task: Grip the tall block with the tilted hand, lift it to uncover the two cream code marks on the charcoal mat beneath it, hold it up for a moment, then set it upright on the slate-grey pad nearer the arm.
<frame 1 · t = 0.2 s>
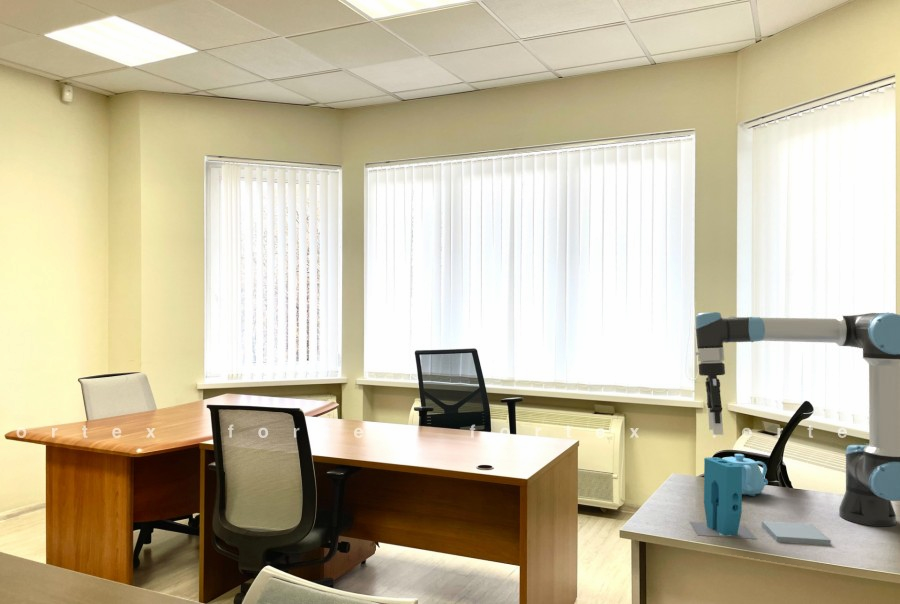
hand: (716, 432, 203), 28 cm above the table, tool pointing down, fingers open, 13 cm apart
code mat: (722, 530, 195), on the table
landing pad: (794, 535, 192), on the table
decorative pot: (739, 493, 237), on the table
block: (722, 530, 195), on the table, touching code mat
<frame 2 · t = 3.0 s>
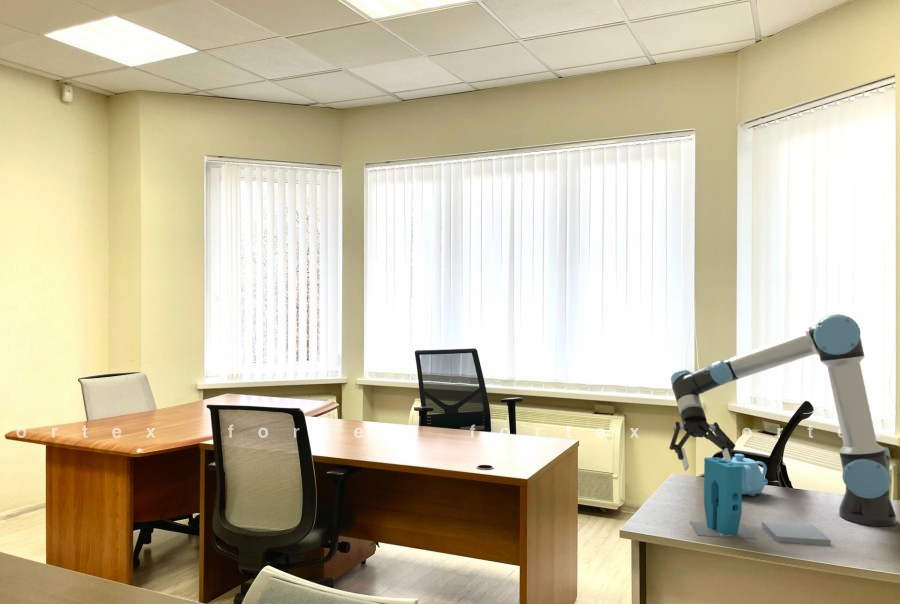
hand: (708, 468, 204), 16 cm above the table, tool tilted 45°, fingers open, 13 cm apart
nothing on the table moved.
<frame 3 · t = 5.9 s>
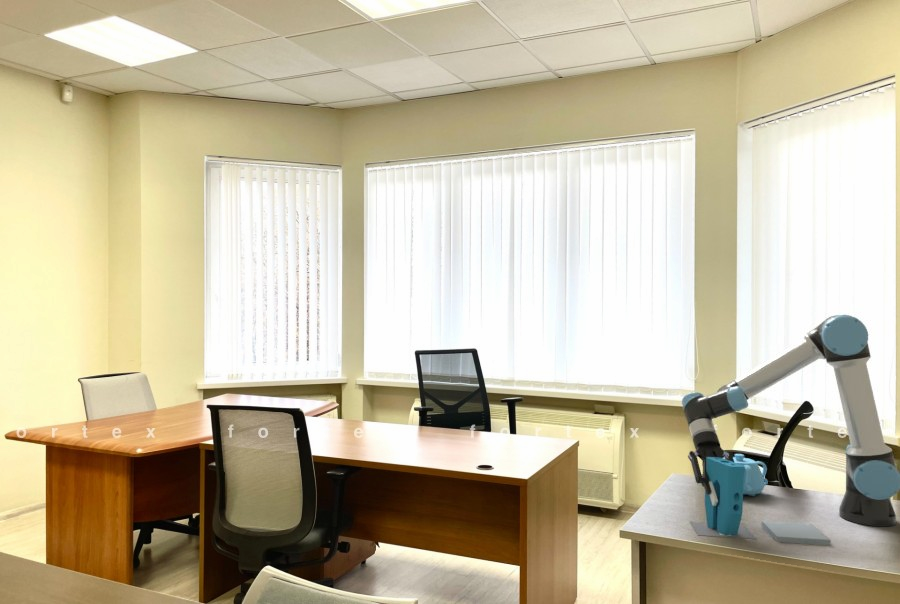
hand: (725, 503, 193), 8 cm above the table, tool tilted 45°, fingers closed on block, 5 cm apart
block: (722, 530, 195), on the table, touching code mat, gripper
everything else where it was.
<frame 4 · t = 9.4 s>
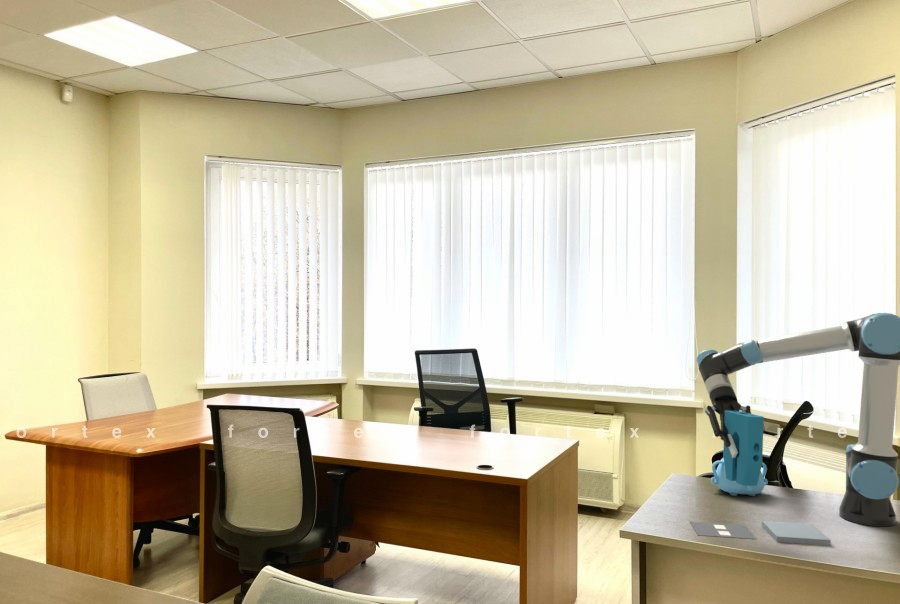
hand: (745, 455, 193), 23 cm above the table, tool tilted 45°, fingers closed on block, 5 cm apart
block: (741, 482, 195), point 14 cm above the table, touching gripper
everything else where it was.
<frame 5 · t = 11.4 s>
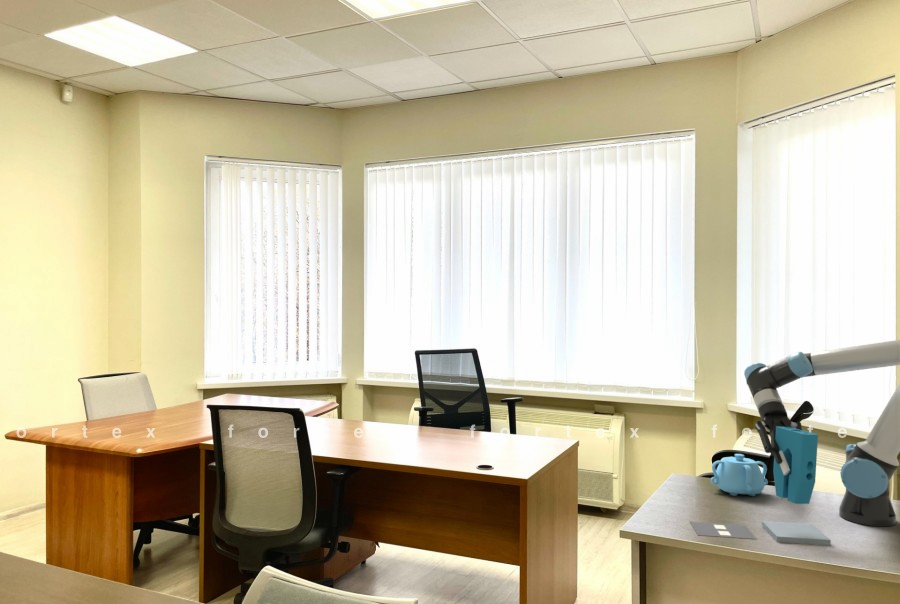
hand: (797, 472, 191), 18 cm above the table, tool tilted 45°, fingers closed on block, 5 cm apart
block: (792, 500, 192), point 10 cm above the table, touching gripper
everything else where it was.
when the fingers open (11 cm above the table, at t = 13.2 s): block drops 2 cm, resting on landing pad.
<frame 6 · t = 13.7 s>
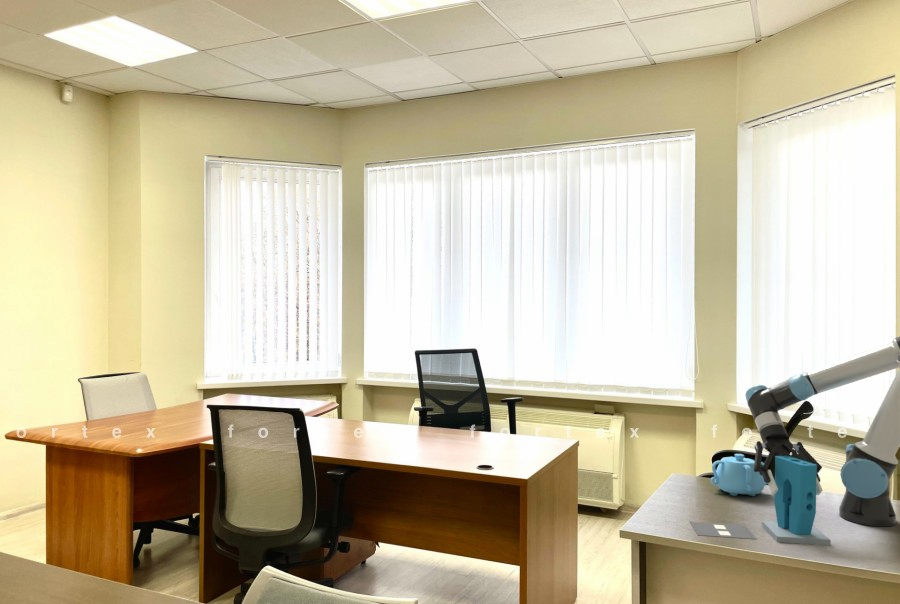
hand: (797, 492, 191), 12 cm above the table, tool tilted 45°, fingers open, 12 cm apart
block: (794, 530, 192), point 1 cm above the table, touching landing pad
everything else where it was.
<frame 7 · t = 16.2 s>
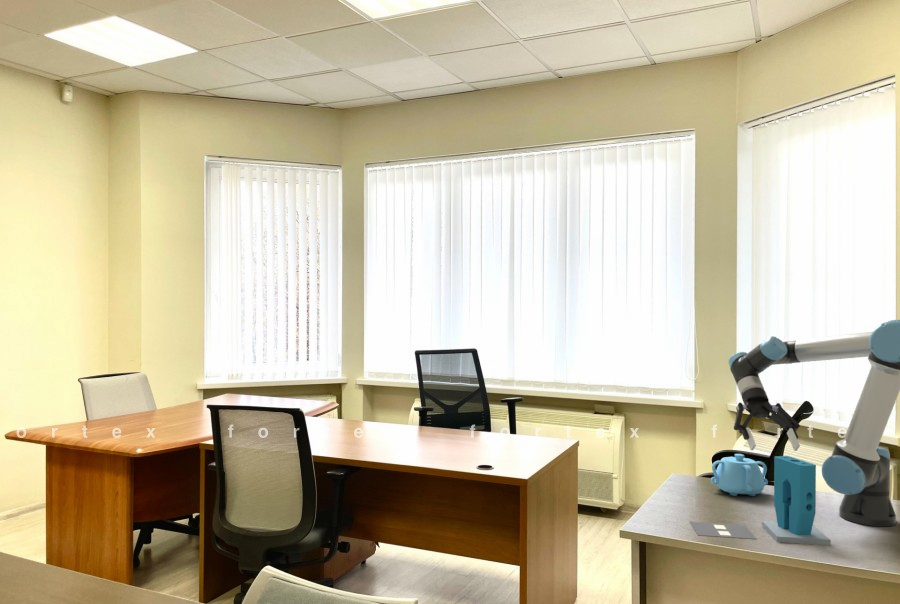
hand: (775, 448, 204), 23 cm above the table, tool tilted 45°, fingers open, 13 cm apart
nothing on the table moved.
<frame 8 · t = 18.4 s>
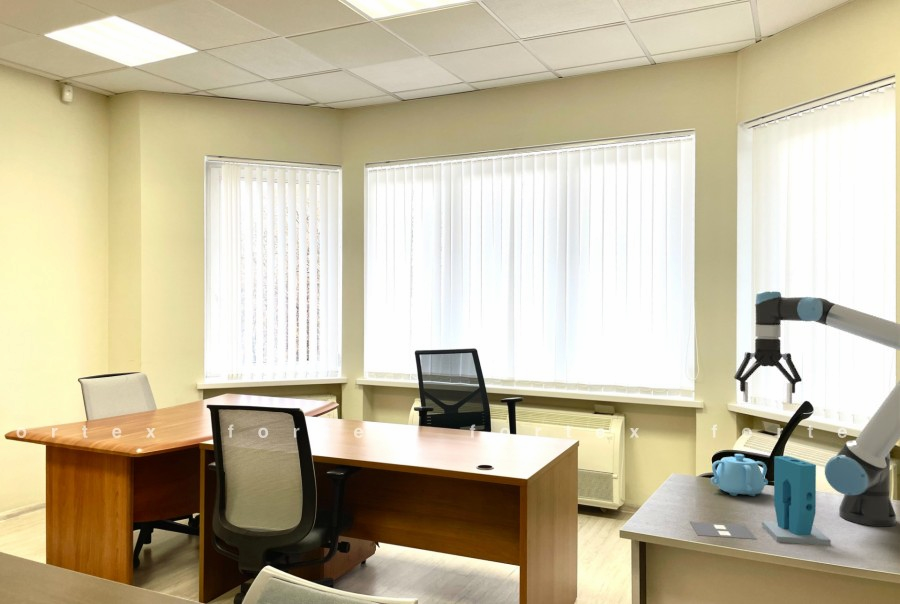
hand: (767, 402, 219), 35 cm above the table, tool pointing down, fingers open, 13 cm apart
nothing on the table moved.
at the end: block inside the target area on the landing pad (0.2 cm from its centre), point 1.3 cm above the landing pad's base; block tilted 0°; the gripper is holding nothing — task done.
